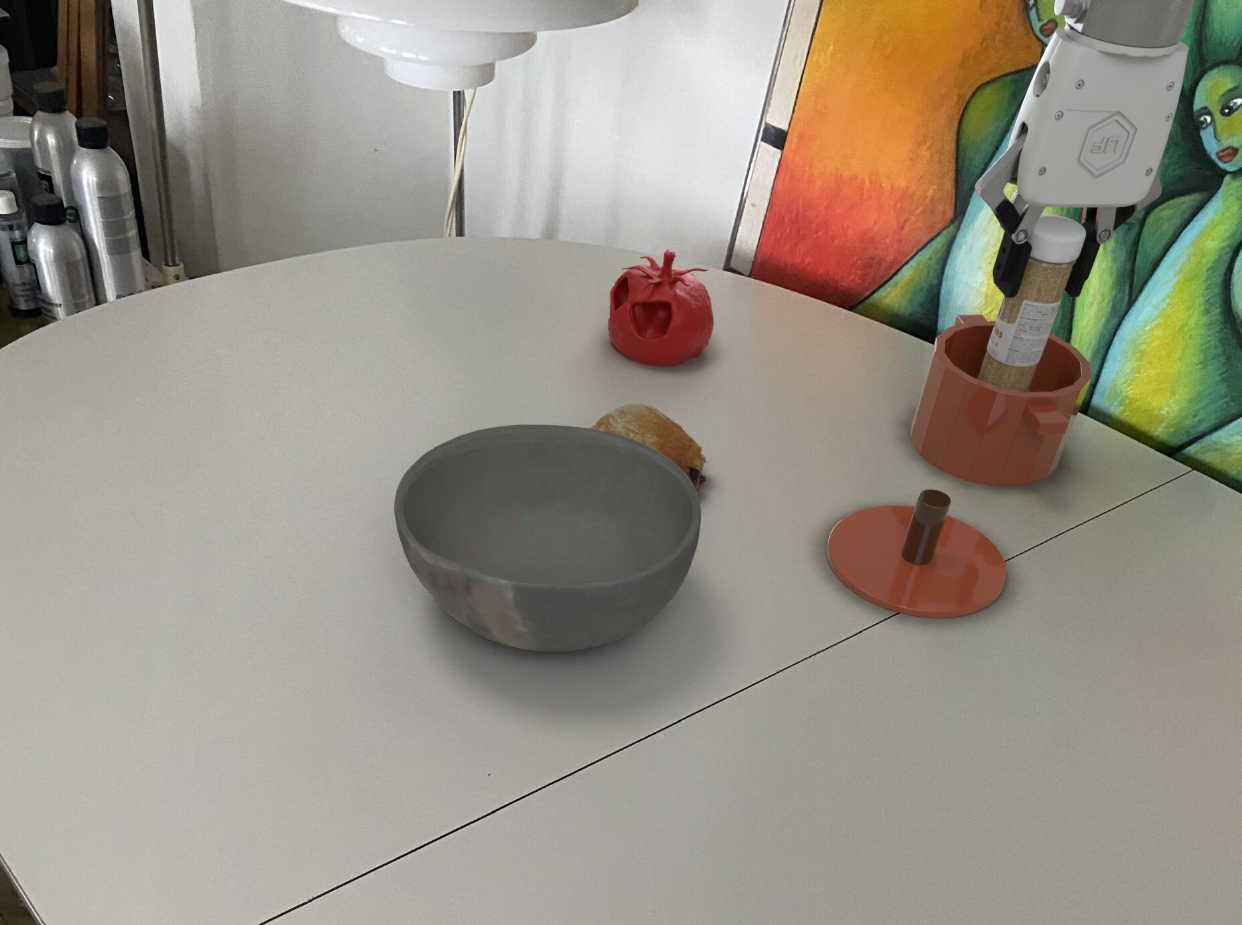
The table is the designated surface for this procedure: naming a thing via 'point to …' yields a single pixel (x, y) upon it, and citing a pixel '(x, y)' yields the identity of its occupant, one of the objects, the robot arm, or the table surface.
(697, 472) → the bread roll
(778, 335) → the table surface
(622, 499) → the bowl
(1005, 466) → the pot
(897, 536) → the lid
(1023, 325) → the sprinkles bottle
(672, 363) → the red tomato
